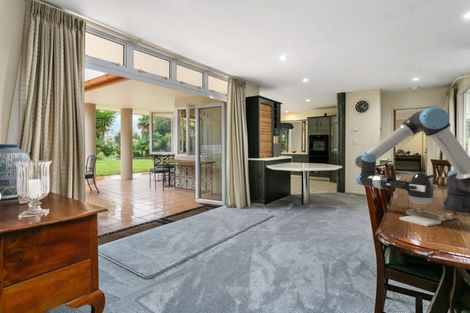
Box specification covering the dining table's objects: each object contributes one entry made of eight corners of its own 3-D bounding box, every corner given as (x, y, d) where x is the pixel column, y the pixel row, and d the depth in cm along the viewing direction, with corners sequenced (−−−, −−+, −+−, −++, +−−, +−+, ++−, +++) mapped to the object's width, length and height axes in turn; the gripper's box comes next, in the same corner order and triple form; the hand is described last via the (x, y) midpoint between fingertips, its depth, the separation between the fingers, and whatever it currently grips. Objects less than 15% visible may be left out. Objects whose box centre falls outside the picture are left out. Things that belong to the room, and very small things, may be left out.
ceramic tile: (413, 217, 127) (413, 215, 127) (441, 223, 116) (441, 221, 116) (399, 219, 122) (399, 217, 122) (426, 226, 111) (426, 224, 111)
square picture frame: (421, 211, 139) (421, 207, 138) (453, 218, 125) (453, 213, 125) (405, 214, 132) (406, 209, 132) (437, 221, 119) (437, 216, 119)
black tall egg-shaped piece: (431, 206, 112) (432, 173, 111) (404, 202, 120) (405, 171, 119) (435, 203, 119) (437, 172, 118) (409, 200, 126) (411, 170, 126)
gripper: (396, 188, 140) (443, 194, 120) (370, 190, 130) (416, 197, 110) (396, 174, 140) (444, 179, 120) (371, 175, 130) (417, 181, 110)
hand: (431, 188), depth 115 cm, fingers closed on black tall egg-shaped piece, 9 cm apart
